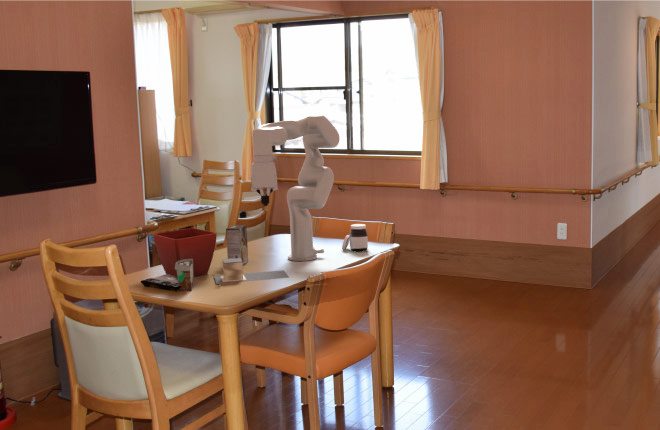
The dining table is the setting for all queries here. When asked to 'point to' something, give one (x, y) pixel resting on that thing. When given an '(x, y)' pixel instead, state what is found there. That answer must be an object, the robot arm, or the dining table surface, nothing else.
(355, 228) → the spread jar
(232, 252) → the coffee box
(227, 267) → the oak cube
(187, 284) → the food container
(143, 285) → the dining table surface
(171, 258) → the plant pot
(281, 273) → the topple mat
